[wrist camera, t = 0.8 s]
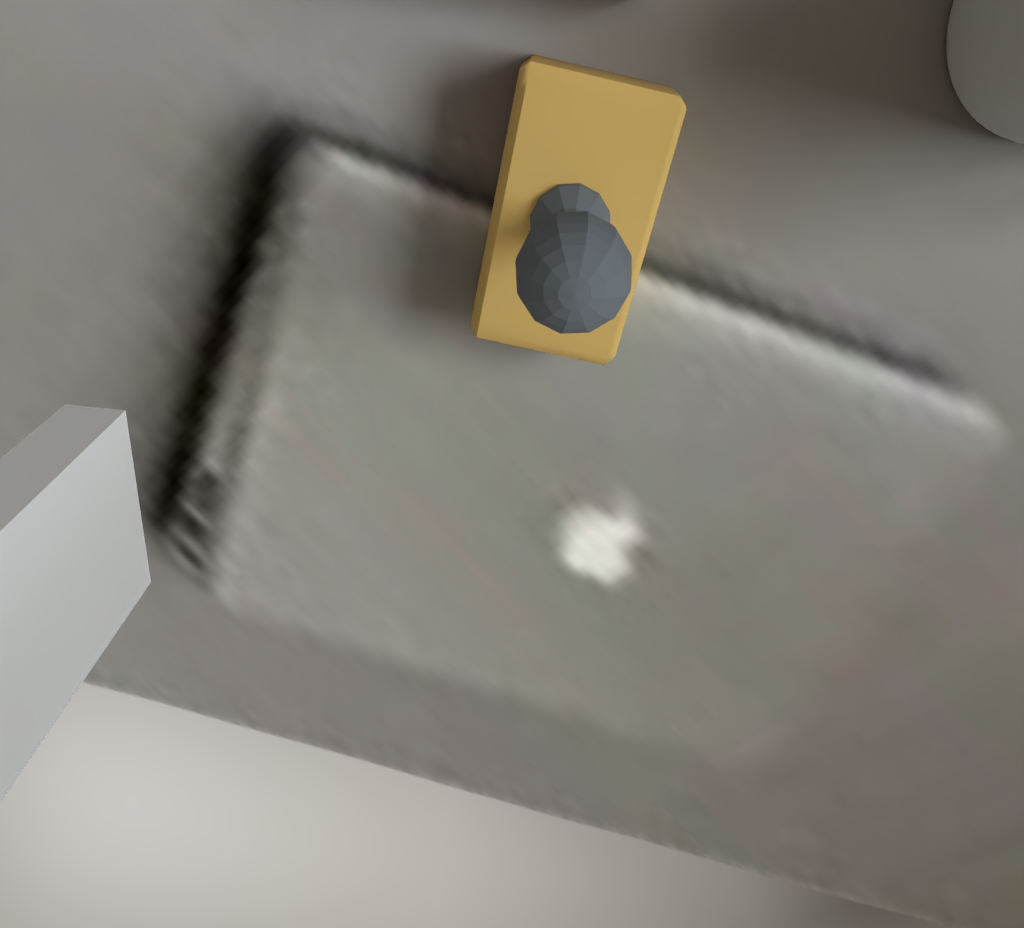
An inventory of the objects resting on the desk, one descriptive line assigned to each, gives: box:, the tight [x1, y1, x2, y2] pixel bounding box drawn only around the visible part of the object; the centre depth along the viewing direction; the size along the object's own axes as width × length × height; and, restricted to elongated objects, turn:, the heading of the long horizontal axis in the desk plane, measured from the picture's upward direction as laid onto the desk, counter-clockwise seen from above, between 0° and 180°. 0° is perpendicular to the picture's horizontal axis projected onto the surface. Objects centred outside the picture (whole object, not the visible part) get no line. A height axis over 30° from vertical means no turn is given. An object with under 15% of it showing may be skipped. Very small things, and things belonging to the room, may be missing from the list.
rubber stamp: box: [470, 55, 687, 365], centre depth 27 cm, size 10×6×12 cm, turn 168°
